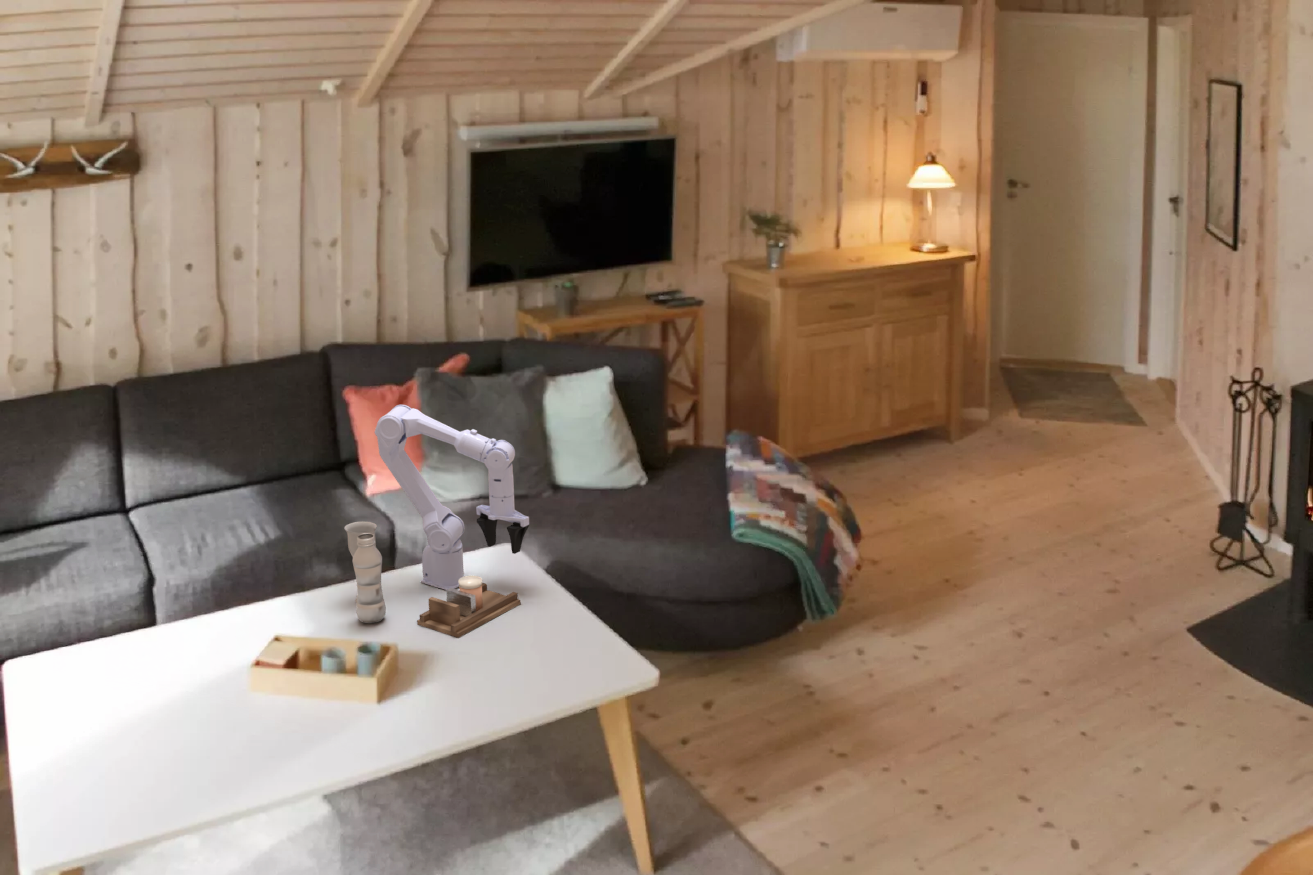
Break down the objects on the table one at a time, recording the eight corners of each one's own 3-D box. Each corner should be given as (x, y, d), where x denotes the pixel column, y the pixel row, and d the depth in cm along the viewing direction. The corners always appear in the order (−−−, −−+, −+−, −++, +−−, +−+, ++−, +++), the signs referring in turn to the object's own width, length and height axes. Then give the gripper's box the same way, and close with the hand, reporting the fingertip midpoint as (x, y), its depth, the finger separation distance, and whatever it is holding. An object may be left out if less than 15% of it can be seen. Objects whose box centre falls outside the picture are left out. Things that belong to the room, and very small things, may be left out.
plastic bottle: (390, 614, 296) (384, 531, 290) (381, 627, 290) (375, 542, 284) (362, 613, 297) (356, 530, 291) (352, 626, 290) (346, 541, 284)
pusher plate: (447, 610, 295) (446, 590, 294) (452, 608, 296) (450, 587, 295) (471, 618, 291) (470, 597, 290) (476, 615, 292) (475, 595, 291)
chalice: (344, 604, 302) (338, 530, 296) (359, 592, 308) (353, 520, 302) (373, 607, 300) (367, 533, 294) (387, 596, 306) (382, 523, 300)
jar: (455, 610, 296) (453, 581, 294) (470, 602, 300) (469, 573, 298) (472, 615, 293) (471, 586, 291) (488, 607, 297) (486, 578, 295)
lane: (417, 624, 291) (415, 599, 289) (480, 592, 308) (479, 568, 306) (458, 637, 285) (456, 612, 283) (520, 603, 301) (519, 579, 300)
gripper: (466, 492, 305) (469, 547, 309) (513, 505, 297) (516, 561, 301) (486, 484, 311) (489, 538, 315) (534, 496, 303) (536, 551, 307)
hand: (503, 548), depth 308 cm, fingers open, 7 cm apart
